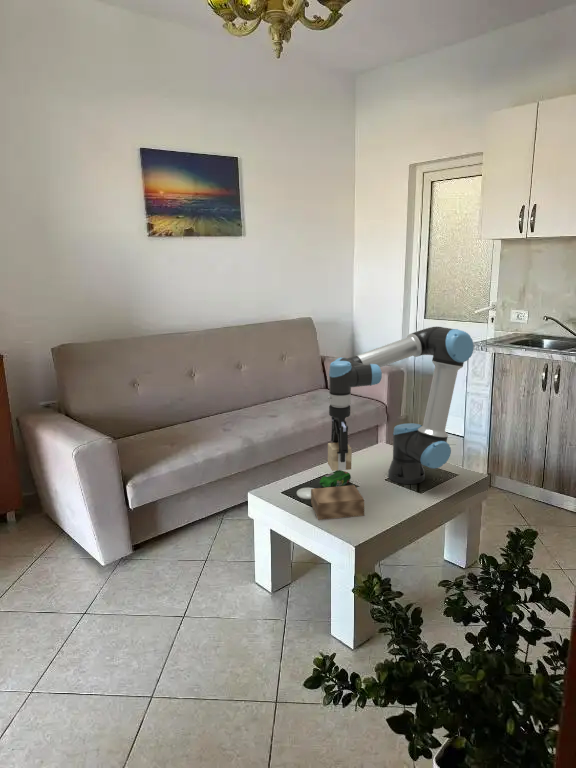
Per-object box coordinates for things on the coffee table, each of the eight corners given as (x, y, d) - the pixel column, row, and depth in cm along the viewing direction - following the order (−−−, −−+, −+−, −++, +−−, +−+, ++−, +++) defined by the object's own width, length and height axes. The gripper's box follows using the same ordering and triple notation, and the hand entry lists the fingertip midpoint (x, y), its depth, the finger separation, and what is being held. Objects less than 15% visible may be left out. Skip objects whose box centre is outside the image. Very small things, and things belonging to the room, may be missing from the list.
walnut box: (354, 499, 204) (354, 484, 203) (364, 515, 192) (364, 499, 190) (311, 503, 202) (310, 488, 200) (318, 519, 189) (318, 503, 188)
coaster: (316, 488, 215) (316, 486, 215) (321, 498, 206) (321, 496, 206) (295, 490, 213) (294, 488, 213) (298, 500, 205) (298, 498, 205)
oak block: (346, 462, 196) (346, 441, 195) (351, 469, 190) (351, 448, 188) (327, 463, 195) (327, 443, 193) (332, 470, 189) (332, 449, 187)
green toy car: (316, 489, 214) (316, 477, 213) (340, 477, 225) (340, 466, 224) (329, 495, 209) (329, 482, 208) (353, 482, 220) (353, 470, 219)
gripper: (323, 398, 196) (322, 456, 201) (336, 413, 177) (335, 477, 182) (342, 397, 197) (341, 455, 203) (358, 411, 178) (356, 475, 183)
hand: (339, 465), depth 192 cm, fingers closed on oak block, 7 cm apart
